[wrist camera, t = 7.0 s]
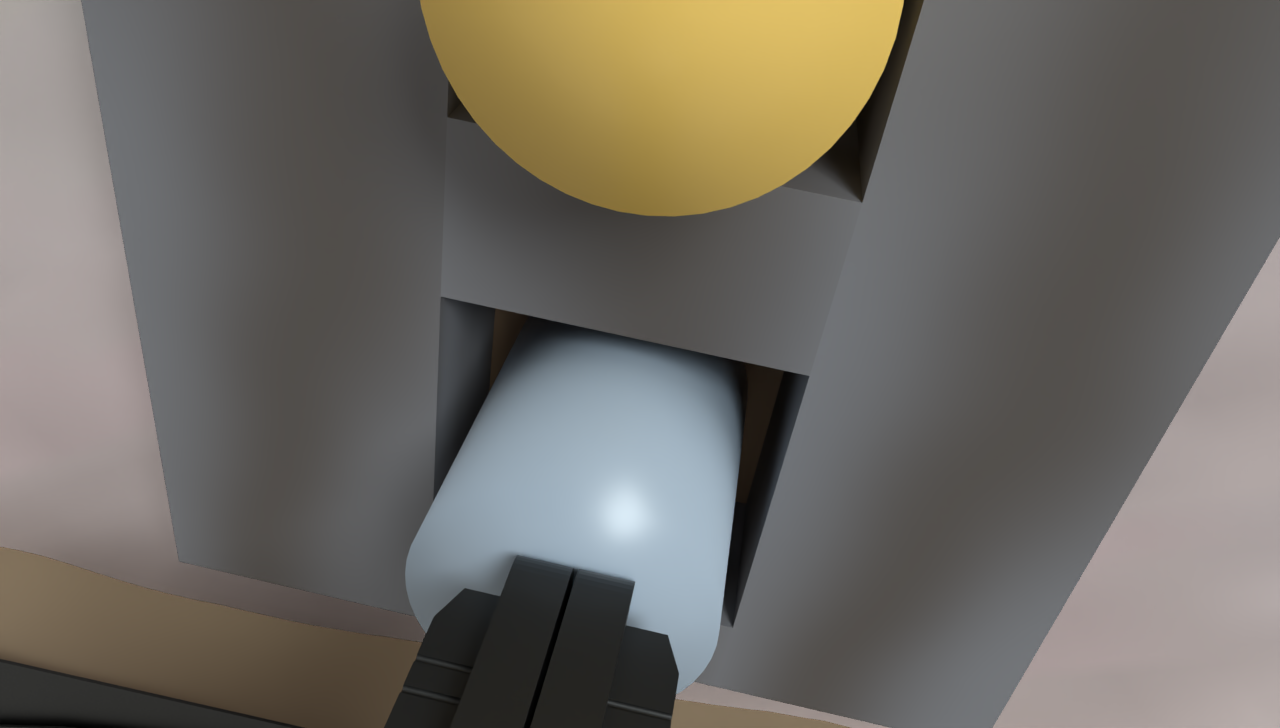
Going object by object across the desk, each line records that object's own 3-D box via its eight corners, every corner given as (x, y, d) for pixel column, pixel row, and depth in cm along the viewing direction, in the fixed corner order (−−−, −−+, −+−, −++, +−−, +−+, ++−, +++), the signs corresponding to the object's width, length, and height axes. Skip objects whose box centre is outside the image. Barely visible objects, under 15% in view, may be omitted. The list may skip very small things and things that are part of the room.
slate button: (503, 450, 17) (403, 674, 13) (521, 255, 15) (406, 452, 11) (722, 498, 17) (688, 741, 13) (771, 308, 15) (751, 529, 11)
